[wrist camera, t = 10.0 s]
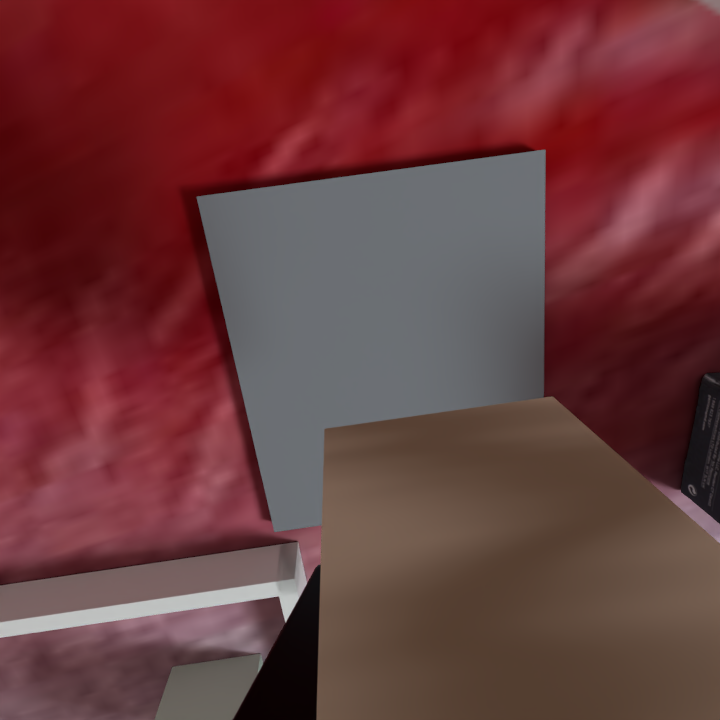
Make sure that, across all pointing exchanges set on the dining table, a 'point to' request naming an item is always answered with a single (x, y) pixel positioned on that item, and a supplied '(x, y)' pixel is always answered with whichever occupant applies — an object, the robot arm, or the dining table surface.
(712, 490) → the small box
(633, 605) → the labelled block
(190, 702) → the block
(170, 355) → the dining table surface
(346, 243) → the mat
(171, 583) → the white square frame
